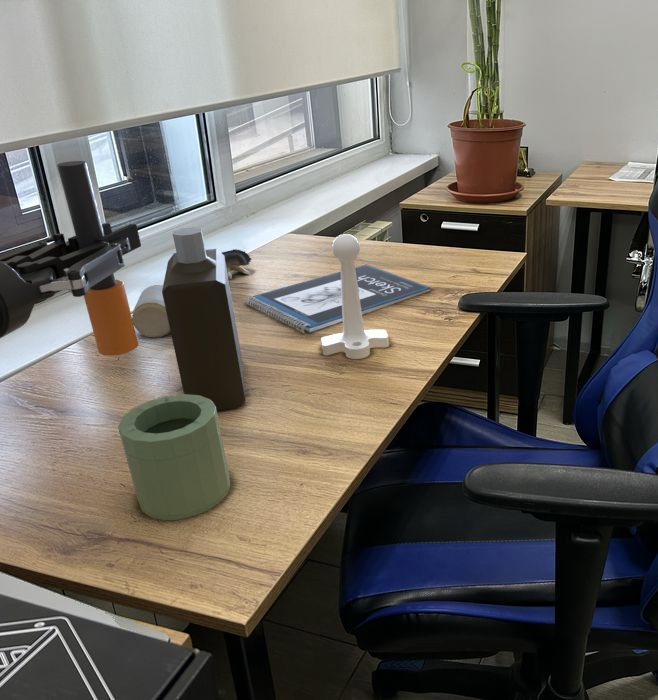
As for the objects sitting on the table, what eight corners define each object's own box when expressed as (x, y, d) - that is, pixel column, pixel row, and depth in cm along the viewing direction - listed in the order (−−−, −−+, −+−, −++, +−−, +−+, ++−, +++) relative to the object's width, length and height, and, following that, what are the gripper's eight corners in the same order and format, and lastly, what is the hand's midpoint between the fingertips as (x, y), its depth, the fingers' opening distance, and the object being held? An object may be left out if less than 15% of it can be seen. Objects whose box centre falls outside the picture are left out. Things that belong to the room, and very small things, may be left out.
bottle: (243, 363, 116) (217, 214, 105) (246, 410, 102) (217, 244, 92) (191, 371, 114) (160, 219, 103) (188, 420, 100) (151, 251, 89)
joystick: (385, 338, 124) (377, 227, 116) (393, 356, 118) (385, 240, 109) (321, 346, 122) (308, 234, 113) (325, 365, 115) (312, 247, 106)
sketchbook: (431, 293, 144) (430, 284, 144) (305, 337, 125) (304, 327, 125) (366, 269, 158) (365, 260, 157) (244, 305, 139) (243, 295, 138)
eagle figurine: (214, 282, 148) (255, 268, 151) (200, 252, 148) (242, 237, 151) (215, 291, 155) (255, 276, 158) (202, 261, 155) (241, 248, 158)
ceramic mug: (134, 342, 124) (125, 301, 121) (144, 324, 132) (136, 285, 128) (197, 337, 126) (190, 297, 123) (203, 319, 134) (197, 281, 130)
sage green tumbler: (122, 518, 81) (98, 436, 76) (170, 466, 90) (152, 391, 85) (204, 527, 79) (185, 444, 75) (245, 474, 88) (231, 397, 84)
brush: (90, 354, 84) (39, 167, 74) (113, 339, 88) (67, 159, 78) (124, 356, 83) (76, 167, 74) (145, 341, 87) (102, 159, 78)
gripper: (-94, 340, 67) (72, 262, 88) (54, 349, 64) (189, 266, 85) (-124, 264, 64) (55, 202, 85) (31, 271, 61) (177, 205, 82)
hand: (122, 234), depth 85 cm, fingers closed on brush, 3 cm apart
